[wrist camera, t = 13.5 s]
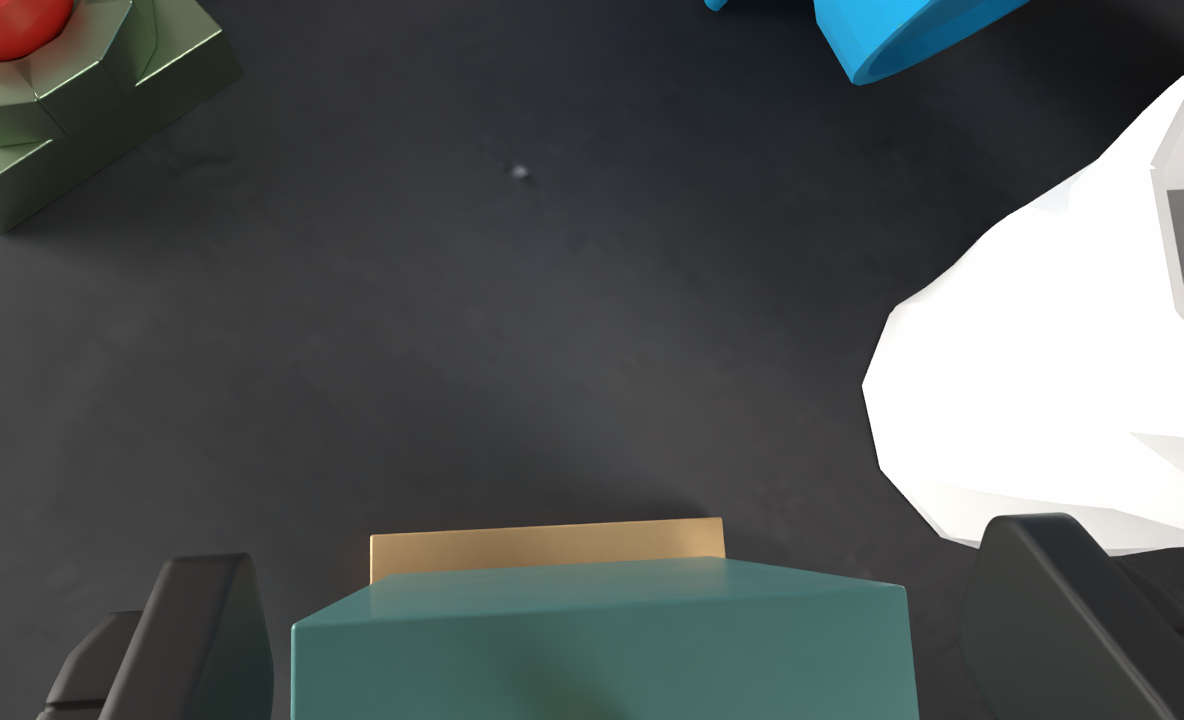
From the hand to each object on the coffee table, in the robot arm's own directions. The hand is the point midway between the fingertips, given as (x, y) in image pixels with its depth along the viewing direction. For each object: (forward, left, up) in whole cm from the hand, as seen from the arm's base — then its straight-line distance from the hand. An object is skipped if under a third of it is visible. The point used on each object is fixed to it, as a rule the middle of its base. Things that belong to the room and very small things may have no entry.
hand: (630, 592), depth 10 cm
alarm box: (+20, +1, -14) cm, 25 cm away
